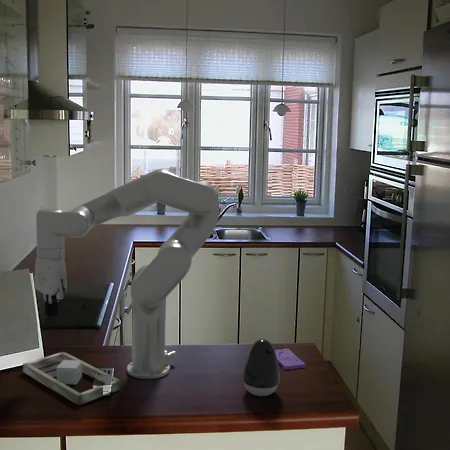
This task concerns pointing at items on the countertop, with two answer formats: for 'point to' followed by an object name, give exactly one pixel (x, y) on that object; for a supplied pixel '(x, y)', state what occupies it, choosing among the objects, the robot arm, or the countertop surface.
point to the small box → (69, 371)
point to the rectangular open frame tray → (50, 363)
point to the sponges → (288, 359)
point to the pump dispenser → (261, 369)
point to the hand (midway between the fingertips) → (51, 315)
